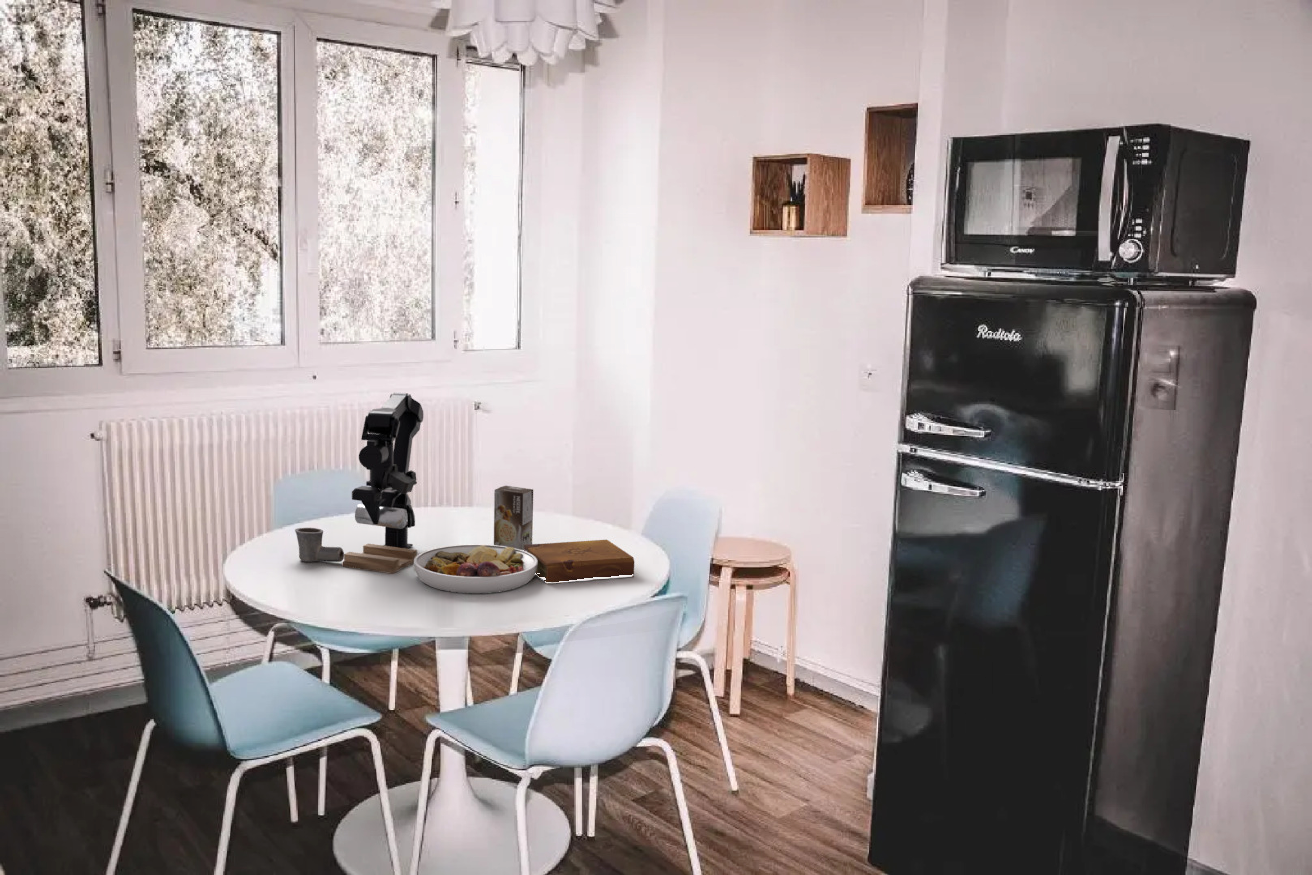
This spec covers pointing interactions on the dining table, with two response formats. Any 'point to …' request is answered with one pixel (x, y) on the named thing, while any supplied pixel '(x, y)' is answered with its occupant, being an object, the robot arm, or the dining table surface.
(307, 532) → the pipe
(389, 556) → the v block
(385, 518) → the silver cylinder
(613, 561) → the wooden box
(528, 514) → the coffee box
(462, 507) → the dining table surface
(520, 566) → the bowl
